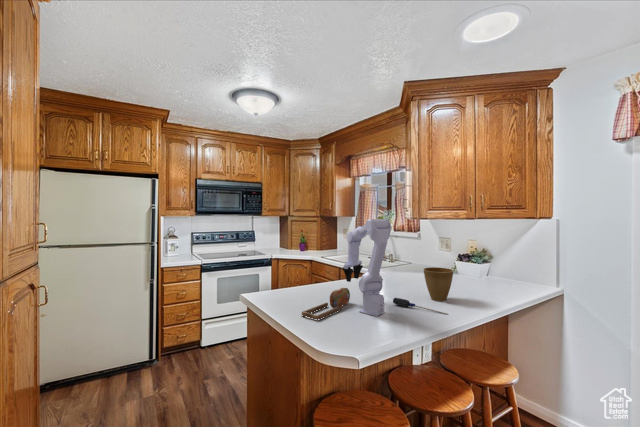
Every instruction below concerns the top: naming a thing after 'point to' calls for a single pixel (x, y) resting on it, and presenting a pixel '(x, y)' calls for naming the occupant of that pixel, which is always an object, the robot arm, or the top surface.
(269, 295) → the top surface
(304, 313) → the brown beaded frame
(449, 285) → the plant pot
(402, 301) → the screwdriver
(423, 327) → the top surface
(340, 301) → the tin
